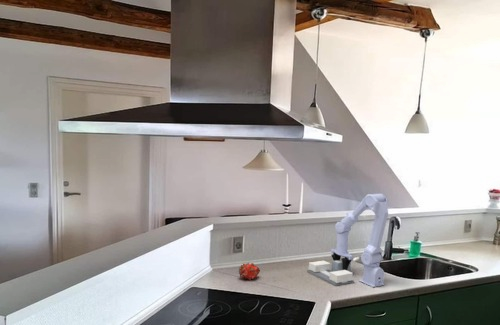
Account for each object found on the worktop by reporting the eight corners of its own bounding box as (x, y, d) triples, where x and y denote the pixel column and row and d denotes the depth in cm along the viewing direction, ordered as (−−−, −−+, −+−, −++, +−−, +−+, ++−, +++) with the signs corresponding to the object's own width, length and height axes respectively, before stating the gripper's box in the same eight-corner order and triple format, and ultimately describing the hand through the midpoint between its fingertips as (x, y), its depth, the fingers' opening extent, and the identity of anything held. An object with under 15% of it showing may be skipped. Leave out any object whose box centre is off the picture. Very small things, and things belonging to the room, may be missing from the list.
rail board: (354, 282, 182) (354, 272, 182) (335, 286, 176) (335, 276, 176) (324, 269, 201) (325, 260, 201) (307, 271, 195) (307, 262, 195)
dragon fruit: (235, 282, 180) (257, 283, 185) (243, 277, 174) (265, 277, 179) (234, 265, 185) (255, 266, 190) (241, 259, 179) (263, 260, 184)
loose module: (350, 272, 197) (350, 261, 197) (337, 274, 193) (337, 263, 193) (344, 270, 201) (344, 259, 201) (331, 272, 197) (331, 260, 197)
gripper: (357, 246, 192) (356, 272, 193) (338, 240, 205) (337, 264, 205) (347, 248, 189) (346, 274, 189) (328, 241, 202) (327, 266, 202)
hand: (340, 269), depth 197 cm, fingers open, 6 cm apart
